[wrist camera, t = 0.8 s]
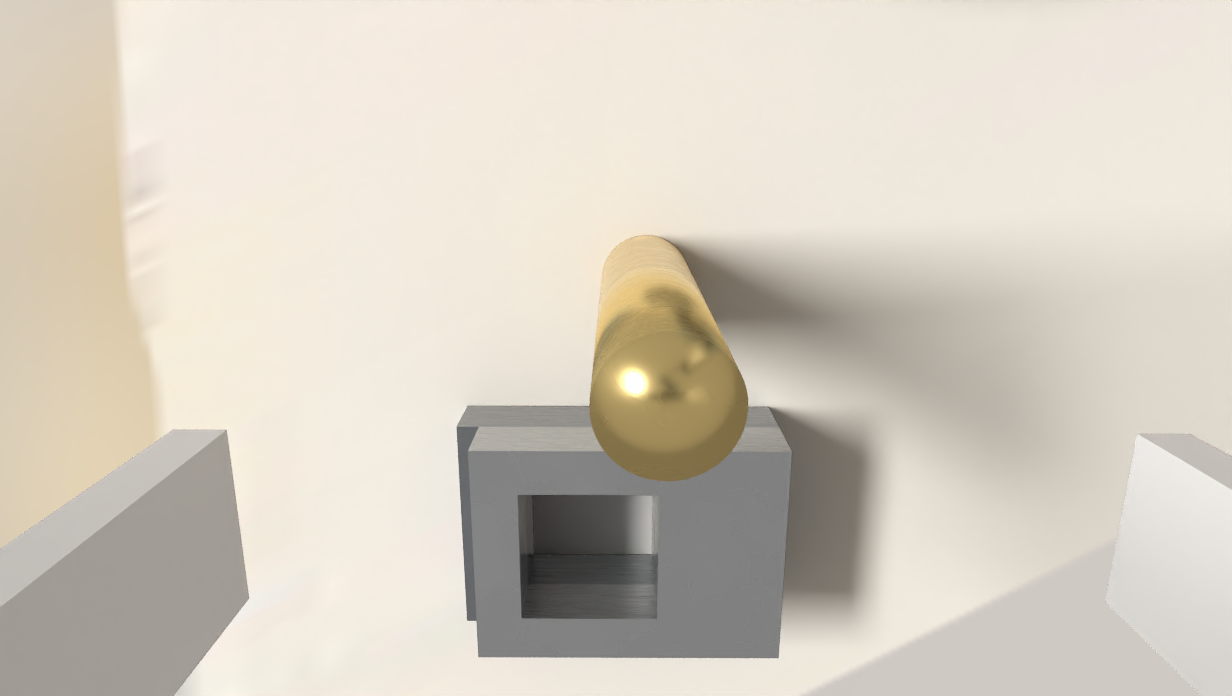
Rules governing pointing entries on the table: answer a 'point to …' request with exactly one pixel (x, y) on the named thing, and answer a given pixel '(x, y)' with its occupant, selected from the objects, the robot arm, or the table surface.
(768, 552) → the grey block with pocket
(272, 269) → the table surface
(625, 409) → the pin
